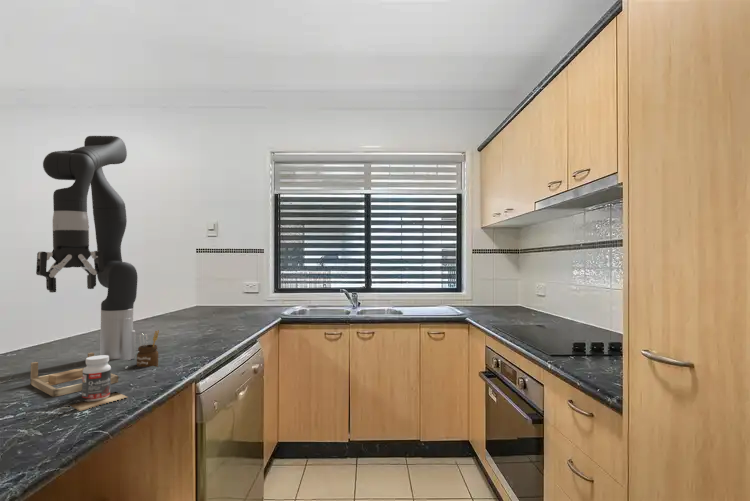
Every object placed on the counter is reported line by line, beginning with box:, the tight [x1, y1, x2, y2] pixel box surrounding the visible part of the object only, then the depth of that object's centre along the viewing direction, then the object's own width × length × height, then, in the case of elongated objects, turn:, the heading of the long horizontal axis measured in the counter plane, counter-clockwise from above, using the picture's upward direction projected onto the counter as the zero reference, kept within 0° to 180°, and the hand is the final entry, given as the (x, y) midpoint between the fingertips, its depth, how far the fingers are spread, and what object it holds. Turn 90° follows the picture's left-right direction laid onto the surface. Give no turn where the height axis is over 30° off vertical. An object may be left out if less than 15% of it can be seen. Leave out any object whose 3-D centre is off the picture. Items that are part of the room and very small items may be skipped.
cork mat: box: [68, 391, 129, 412], centre depth 96 cm, size 10×10×1 cm
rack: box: [29, 352, 119, 398], centre depth 104 cm, size 14×16×7 cm
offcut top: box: [48, 368, 83, 385], centre depth 107 cm, size 7×3×2 cm, turn 159°
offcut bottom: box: [45, 377, 82, 386], centre depth 107 cm, size 9×4×2 cm, turn 150°
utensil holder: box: [136, 330, 160, 368], centre depth 123 cm, size 6×6×12 cm
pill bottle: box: [81, 354, 112, 402], centre depth 96 cm, size 6×6×10 cm
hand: (72, 290), depth 104 cm, fingers open, 8 cm apart
